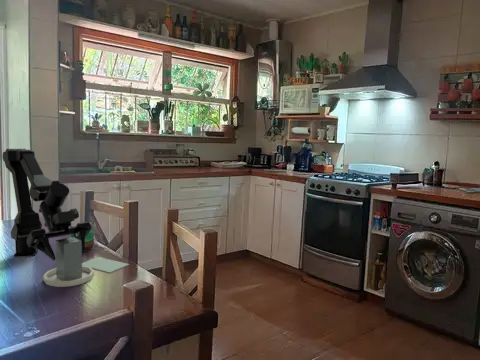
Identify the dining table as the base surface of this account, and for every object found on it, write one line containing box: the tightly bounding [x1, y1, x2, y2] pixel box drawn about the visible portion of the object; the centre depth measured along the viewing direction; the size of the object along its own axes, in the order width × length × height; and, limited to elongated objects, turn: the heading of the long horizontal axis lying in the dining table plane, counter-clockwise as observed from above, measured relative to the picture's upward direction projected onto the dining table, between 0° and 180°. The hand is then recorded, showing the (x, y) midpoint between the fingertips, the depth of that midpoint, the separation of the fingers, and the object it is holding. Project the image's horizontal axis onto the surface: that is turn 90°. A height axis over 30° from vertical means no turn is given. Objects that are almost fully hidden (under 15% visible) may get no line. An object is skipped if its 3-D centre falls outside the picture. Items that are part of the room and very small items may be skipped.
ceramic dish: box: [42, 265, 95, 288], centre depth 122 cm, size 14×14×2 cm
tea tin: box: [55, 236, 83, 281], centre depth 121 cm, size 6×6×12 cm
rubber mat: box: [82, 256, 130, 274], centre depth 134 cm, size 14×9×1 cm, turn 65°
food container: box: [70, 219, 97, 251], centre depth 153 cm, size 12×6×10 cm, turn 168°
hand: (69, 256), depth 121 cm, fingers open, 9 cm apart
